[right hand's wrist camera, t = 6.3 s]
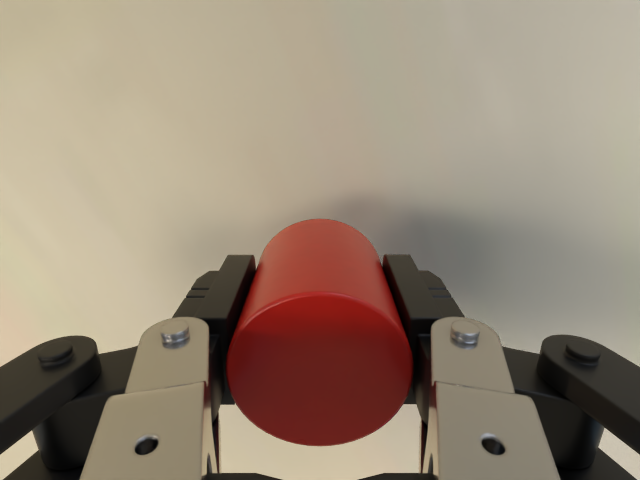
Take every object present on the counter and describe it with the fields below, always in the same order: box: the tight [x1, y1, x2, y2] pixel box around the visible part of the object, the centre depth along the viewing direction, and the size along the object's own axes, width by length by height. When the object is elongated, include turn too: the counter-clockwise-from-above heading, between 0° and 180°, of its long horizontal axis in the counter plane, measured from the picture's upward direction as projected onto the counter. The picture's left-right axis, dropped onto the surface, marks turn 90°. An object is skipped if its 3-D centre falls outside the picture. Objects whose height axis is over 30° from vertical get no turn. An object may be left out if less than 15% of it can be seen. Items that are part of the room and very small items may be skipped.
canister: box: [226, 219, 414, 446], centre depth 10 cm, size 4×4×5 cm
